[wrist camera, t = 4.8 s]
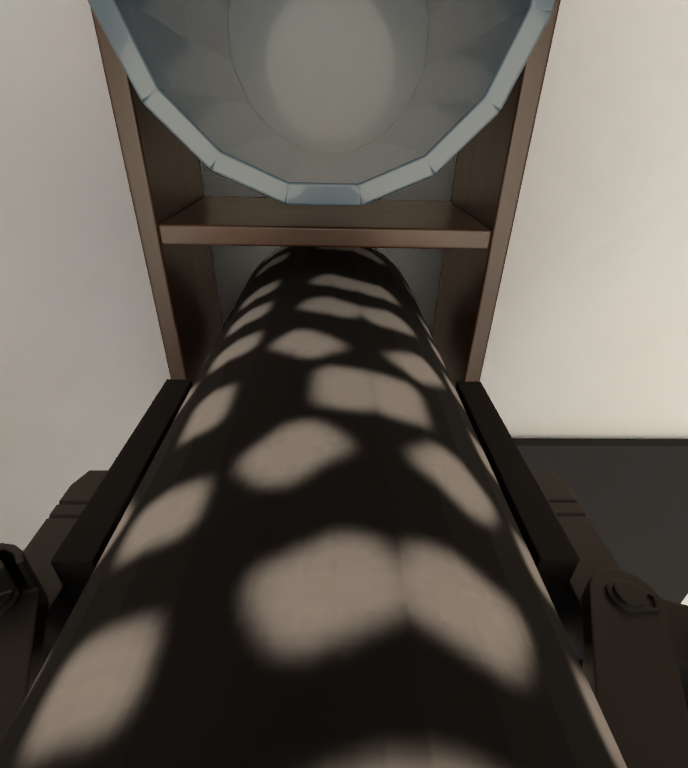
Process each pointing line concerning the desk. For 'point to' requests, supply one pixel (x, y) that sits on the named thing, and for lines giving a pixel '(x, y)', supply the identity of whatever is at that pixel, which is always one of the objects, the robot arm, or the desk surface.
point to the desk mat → (628, 500)
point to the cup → (324, 84)
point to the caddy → (325, 222)
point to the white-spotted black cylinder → (316, 566)
